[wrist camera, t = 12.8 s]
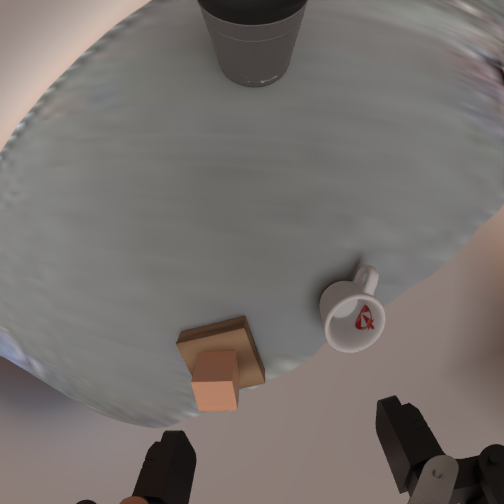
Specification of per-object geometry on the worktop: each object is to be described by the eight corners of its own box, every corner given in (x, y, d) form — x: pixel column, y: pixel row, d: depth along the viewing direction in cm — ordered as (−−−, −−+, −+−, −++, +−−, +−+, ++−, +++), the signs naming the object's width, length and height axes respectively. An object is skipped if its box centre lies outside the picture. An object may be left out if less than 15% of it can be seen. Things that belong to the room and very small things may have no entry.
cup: (336, 246, 39) (354, 263, 31) (383, 266, 40) (407, 285, 32) (303, 315, 42) (313, 344, 34) (350, 330, 42) (366, 359, 35)
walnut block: (182, 330, 43) (175, 343, 39) (245, 314, 42) (244, 327, 38) (205, 380, 45) (202, 395, 42) (264, 367, 45) (265, 383, 41)
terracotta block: (200, 351, 39) (190, 382, 33) (235, 350, 39) (232, 380, 32) (206, 379, 41) (199, 410, 34) (240, 378, 40) (237, 410, 34)
